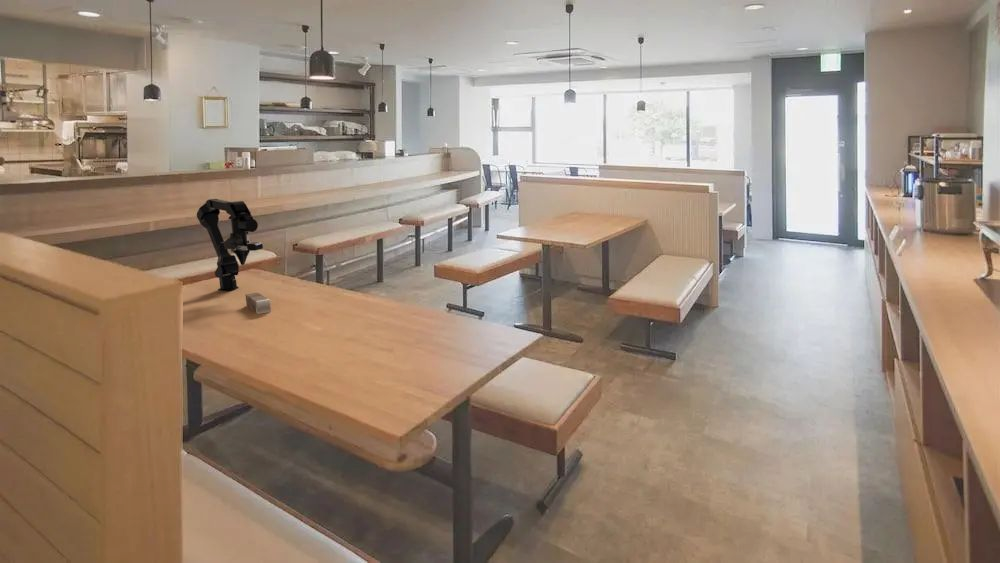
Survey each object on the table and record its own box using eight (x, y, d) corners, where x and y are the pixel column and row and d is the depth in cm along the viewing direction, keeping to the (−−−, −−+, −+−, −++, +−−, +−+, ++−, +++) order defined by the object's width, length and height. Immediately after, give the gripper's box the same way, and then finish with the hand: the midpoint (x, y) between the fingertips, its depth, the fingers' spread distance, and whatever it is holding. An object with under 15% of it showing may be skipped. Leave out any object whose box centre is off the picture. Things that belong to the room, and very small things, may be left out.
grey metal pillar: (245, 294, 259) (256, 301, 248) (257, 292, 262) (269, 299, 251) (246, 306, 260) (258, 313, 249) (258, 303, 263) (270, 311, 252)
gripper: (208, 232, 269) (212, 267, 273) (245, 233, 264) (249, 269, 268) (225, 228, 280) (229, 262, 283) (261, 229, 275) (265, 264, 278)
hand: (242, 264), depth 278 cm, fingers closed
